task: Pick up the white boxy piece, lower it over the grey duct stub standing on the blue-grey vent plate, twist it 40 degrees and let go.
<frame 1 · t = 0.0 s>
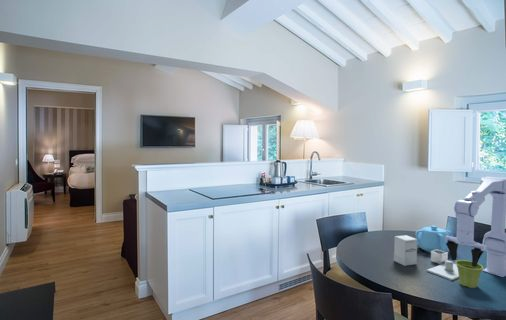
hand: (464, 262, 125), 10 cm above the table, fingers open, 7 cm apart
supplement box: (405, 262, 152), on the table
decorative pot: (433, 250, 169), on the table
duct plate: (450, 271, 141), on the table
white boxy piece: (439, 261, 152), on the table
plant pot: (468, 285, 128), on the table
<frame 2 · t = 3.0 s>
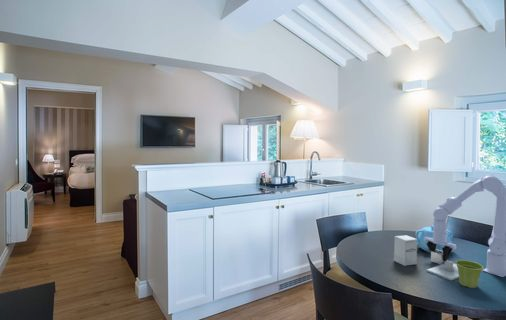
hand: (439, 259, 152), 1 cm above the table, fingers closed on white boxy piece, 5 cm apart
white boxy piece: (439, 261, 152), on the table, touching gripper
everything else where it was.
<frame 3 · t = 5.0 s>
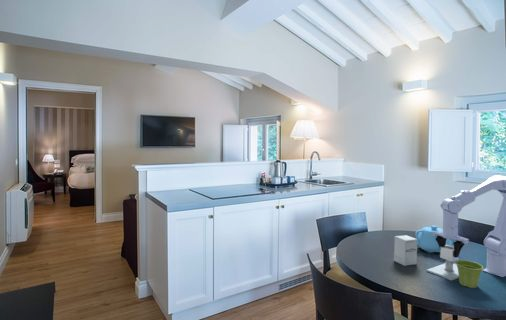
hand: (449, 255, 140), 8 cm above the table, fingers closed on white boxy piece, 5 cm apart
white boxy piece: (449, 258, 140), point 6 cm above the table, touching gripper
everything else where it was.
when the fingers open (3 cm above the table, at t = 7.3 s): white boxy piece stays where it is, resting on duct plate.
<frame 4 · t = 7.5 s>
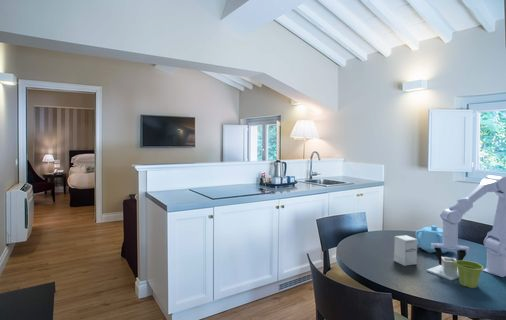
hand: (449, 265, 140), 3 cm above the table, fingers open, 7 cm apart
white boxy piece: (448, 270, 140), point 1 cm above the table, touching duct plate
everything else where it was.
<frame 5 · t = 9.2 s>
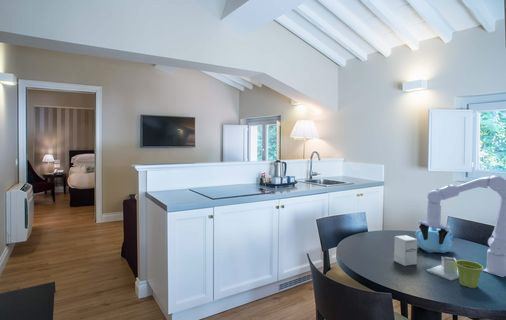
hand: (433, 241, 152), 10 cm above the table, fingers open, 7 cm apart
nothing on the table moved.
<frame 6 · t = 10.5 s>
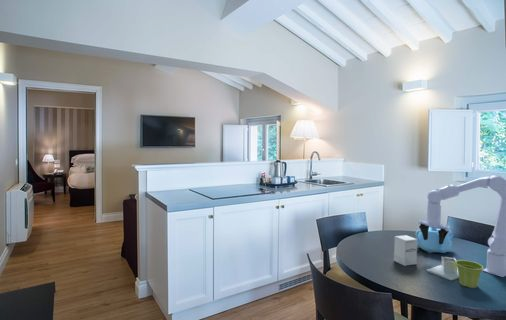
hand: (433, 241, 152), 10 cm above the table, fingers open, 7 cm apart
nothing on the table moved.
at the end: white boxy piece 0.0 cm from the target spot, point 0.8 cm above the table; white boxy piece tilted 0°; the gripper is holding nothing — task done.
